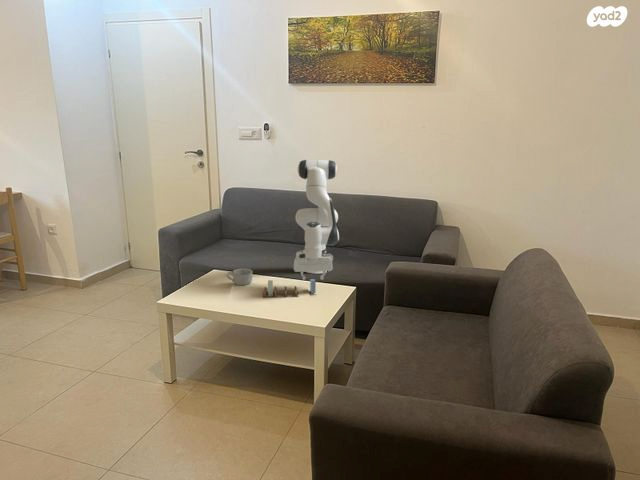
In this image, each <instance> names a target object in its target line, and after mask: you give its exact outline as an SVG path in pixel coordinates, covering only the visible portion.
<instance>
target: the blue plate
mask: <svg viewBox="0 0 640 480" xmlns="http://www.w3.org/2000/svg"><path fill="white" fill-rule="evenodd" d="M309 281H310V282H309V292H310V291H311V293H310V295H314V294H313V293H317V292H316V289H317V285H316V279H314V278H313V279H309Z"/></svg>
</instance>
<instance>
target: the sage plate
mask: <svg viewBox="0 0 640 480" xmlns="http://www.w3.org/2000/svg"><path fill="white" fill-rule="evenodd" d="M273 283H274V281H273V280H267V291H268V296H273V290H274V284H273Z"/></svg>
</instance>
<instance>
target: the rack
mask: <svg viewBox="0 0 640 480" xmlns="http://www.w3.org/2000/svg"><path fill="white" fill-rule="evenodd" d="M299 297H300V296H299V291H298V289H297V286H296V285H294V289H287V285H284V289H281V290H278V289H277V286H274V289H273V296H268V290H267V286H264V290H263V291H262V299H281V298H283V299H285V298H299Z"/></svg>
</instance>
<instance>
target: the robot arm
mask: <svg viewBox="0 0 640 480" xmlns="http://www.w3.org/2000/svg"><path fill="white" fill-rule="evenodd" d="M298 163H299V164H298V165H297V174H298V176H299V177H300V179H303V180H306V185H305V186H306V187H305V193H306V198H307V199H308V201H309V202H310V203H312V204H313V205H315V206H317V208H316V207H315V208H311V207H308V208H301V209H298V210H297V212H296V213H295V222H296V223H297V225H298V226H300V227H301V228H302V229H303V242H304V243H305V244H304V249H303V250H300V251H299V250H298V251H297V252H296V253H295V258H294V260H293V261H294V262H293V271H294V272H295V273H300V275H301V277H302V281H305V280H306V278H307V277H306V275H304V272H305V273H308V274H321V275H320V276H319V277H320V280H324V277H325V276H326V273H328V272H331V271H332V270H333V261H334V255H332V254H331V253H327V247H326V246H329V247H330V246H333V247H334V246H335V245H336V244H338V243H339V240H340V233H339V230H338V227H337V223H338V221H339V213H338V212H337V210H336V209H335V207H334V201H333V199H332V197H330V196H329V194H328V192H327V191H328V182H327V181H328V180H332V179H334V178H335V177H336V175H337V173H338V166H337V164H336V162H335V161H334V160H327V159H308V160H306V159H303V160H301V161H299V162H298ZM327 271H328V272H327Z"/></svg>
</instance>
